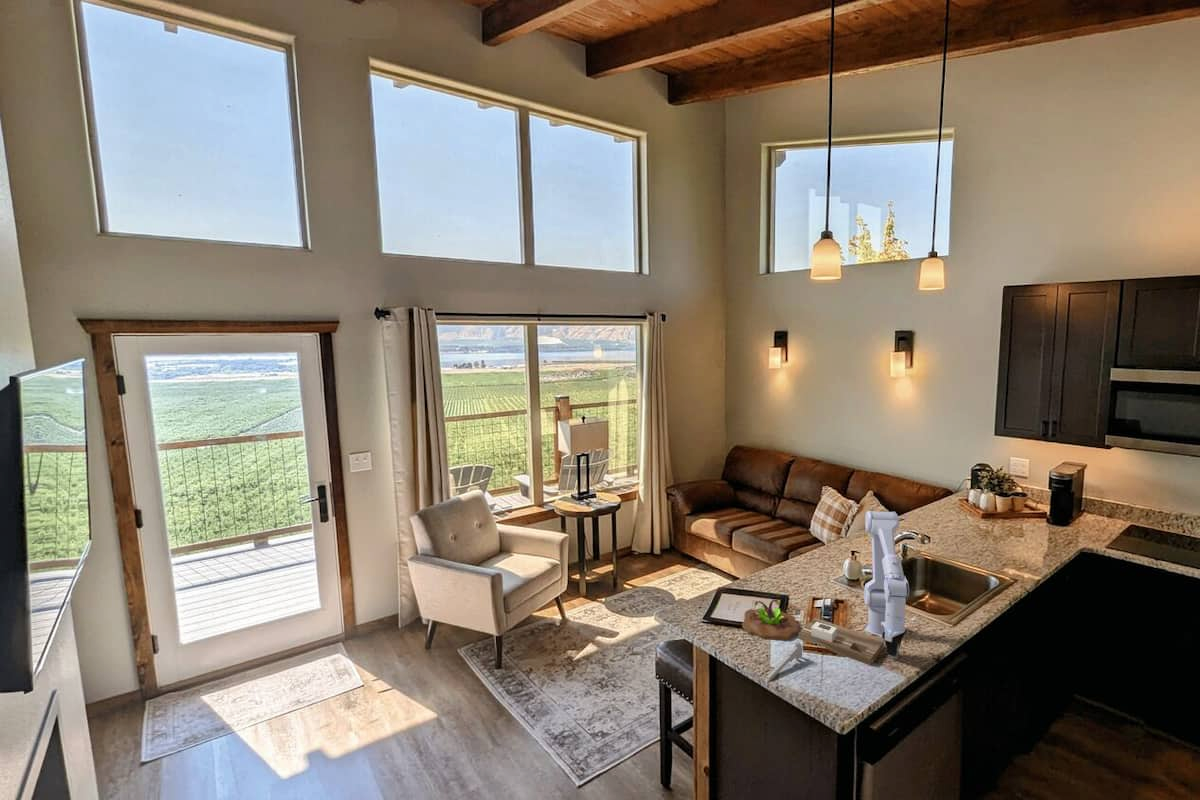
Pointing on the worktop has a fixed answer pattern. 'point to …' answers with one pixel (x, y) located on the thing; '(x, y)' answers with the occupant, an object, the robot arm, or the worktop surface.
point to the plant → (770, 623)
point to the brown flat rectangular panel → (846, 642)
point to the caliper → (786, 661)
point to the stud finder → (824, 631)
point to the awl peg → (895, 655)
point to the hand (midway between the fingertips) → (893, 652)
